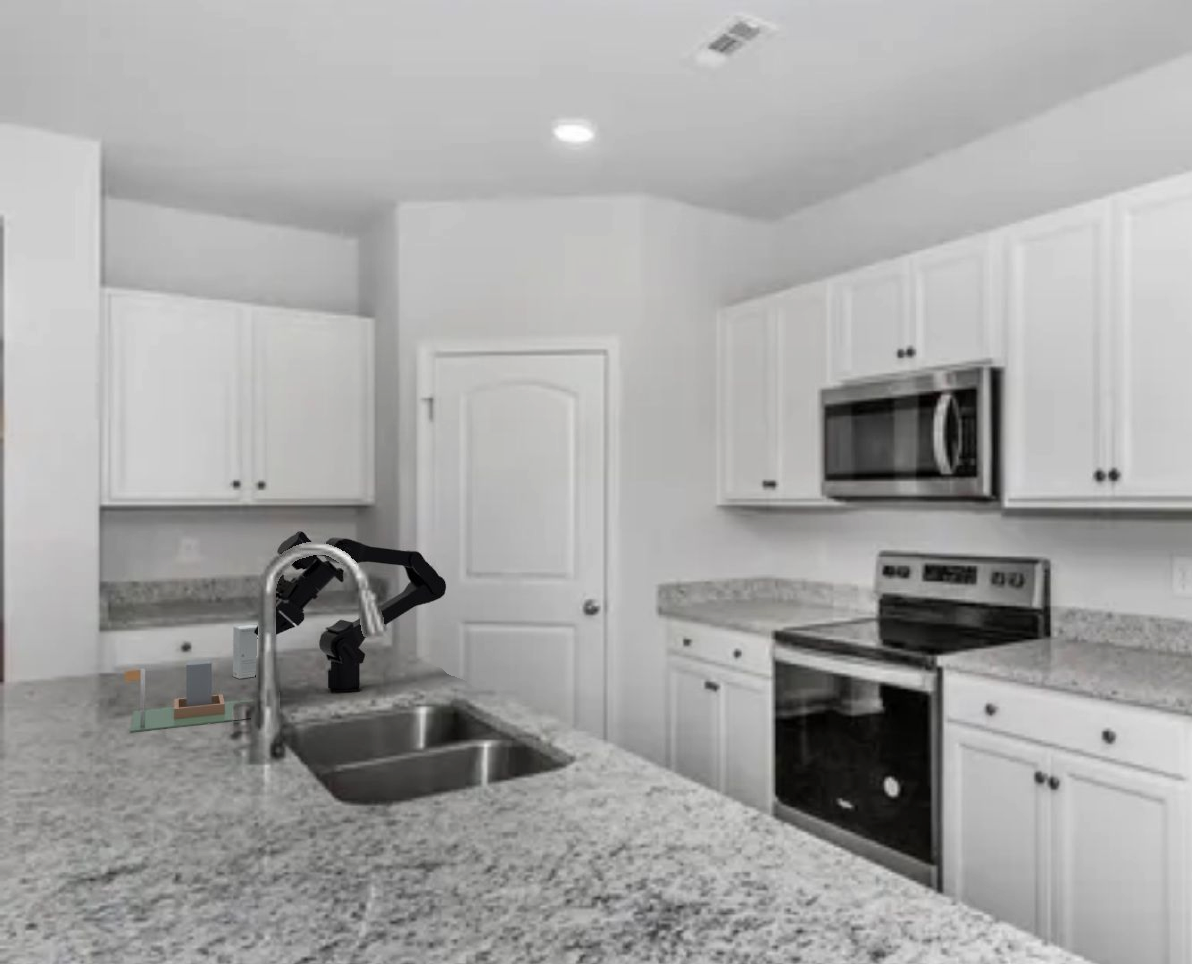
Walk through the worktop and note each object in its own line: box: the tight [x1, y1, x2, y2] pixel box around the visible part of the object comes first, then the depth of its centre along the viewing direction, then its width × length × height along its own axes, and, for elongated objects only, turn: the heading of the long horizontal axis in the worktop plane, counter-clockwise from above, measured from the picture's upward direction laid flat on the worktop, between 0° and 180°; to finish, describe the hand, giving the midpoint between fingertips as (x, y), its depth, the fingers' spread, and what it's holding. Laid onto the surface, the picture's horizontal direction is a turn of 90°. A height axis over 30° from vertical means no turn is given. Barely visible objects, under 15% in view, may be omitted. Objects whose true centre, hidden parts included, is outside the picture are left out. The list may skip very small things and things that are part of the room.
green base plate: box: [124, 668, 254, 733], centre depth 177 cm, size 25×16×11 cm, turn 116°
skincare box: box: [232, 624, 258, 680], centre depth 214 cm, size 6×4×12 cm
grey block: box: [185, 658, 213, 707], centre depth 179 cm, size 5×5×10 cm
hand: (257, 636), depth 190 cm, fingers open, 9 cm apart
